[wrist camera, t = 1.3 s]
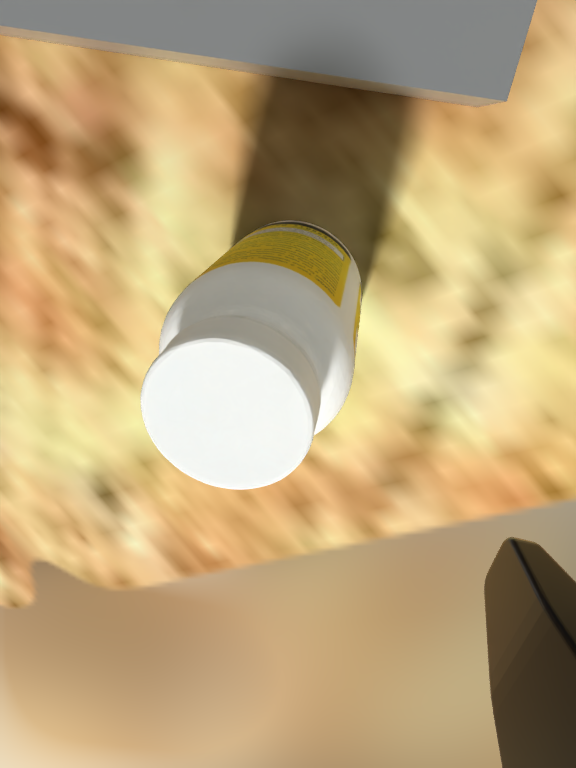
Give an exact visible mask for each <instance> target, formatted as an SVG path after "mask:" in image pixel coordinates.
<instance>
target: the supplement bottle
mask: <svg viewBox="0 0 576 768" xmlns="http://www.w3.org/2000/svg"><path fill="white" fill-rule="evenodd" d="M361 302H362V286H361V279H360V274H359V270H358V268H357V265H356V263H355V260H354V259H353V257H352V255H351V254H350V252H349V251H348V249H347V248H346V247H345V245H344V244H343V243H342V242H341V241H340V240H339V239H338V238H336V237H335V236H334V235H333V234H331V233H330V232H328V231H327V230H325V229H323V228H321V227H319V226H317V225H314V224H311V223H307V222H302V221H294V220H287V221H278V222H274V223H270V224H267V225H264V226H262V227H260V228H258V229H256V230H254V231H253V232H251V233H250V234H248V235H247V236H245V237H244V238H243V239H241V240H240V241H239V242H238V243H236V244H235V245H234V246H233V247H232V248H231V249H230V250H229V251H227V252H226V253H225V254H224V255H223V256H222V257H220V258H219V259H218V260H217V261H216V262H215V263H214V264H213V265H211V266H210V267H209V268H208V269H207V270H206V271H204V272H203V273H202V274H201V275H200V276H199V277H197V278H196V279H195V280H194V281H193V282H192V283H190V284H189V285H188V286H187V287H186V288H185V289H184V291H183V292H182V293H181V294H180V295H179V296H178V297H177V299H176V300H175V302H174V303H173V305H172V306H171V308H170V310H169V312H168V314H167V316H166V318H165V321H164V324H163V327H162V330H161V335H160V343H159V356H158V357H157V358H156V359H155V360H154V362H153V363H152V365H151V366H150V368H149V370H148V372H147V374H146V376H145V379H144V381H143V385H142V390H141V411H142V416H143V420H144V423H145V426H146V429H147V431H148V433H149V435H150V437H151V439H152V441H153V442H154V444H155V445H156V447H157V448H158V450H159V451H160V452H161V453H162V454H163V455H164V457H165V458H167V459H168V460H169V461H170V462H171V463H172V464H173V465H174V466H175V467H177V468H178V469H180V470H181V471H182V472H184V473H185V474H187V475H189V476H191V477H193V478H194V479H197V480H199V481H201V482H203V483H206V484H209V485H212V486H216V487H221V488H227V489H252V488H258V487H262V486H266V485H269V484H272V483H275V482H277V481H279V480H281V479H282V478H284V477H286V476H287V475H288V474H290V473H291V472H292V471H293V470H294V469H295V468H296V467H297V466H298V465H299V464H300V463H301V461H302V460H303V459H304V457H305V456H306V454H307V452H308V450H309V448H310V446H311V443H312V440H313V436H314V435H315V434H317V433H318V432H320V431H321V430H322V429H323V428H325V427H326V426H327V425H328V424H329V423H330V422H331V421H332V420H333V419H334V418H335V416H336V415H337V414H338V412H339V411H340V409H341V408H342V406H343V404H344V402H345V400H346V398H347V396H348V393H349V390H350V387H351V383H352V378H353V373H354V366H355V355H356V347H357V337H358V329H359V322H360V313H361Z"/></svg>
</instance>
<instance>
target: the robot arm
mask: <svg viewBox="0 0 576 768" xmlns="http://www.w3.org/2000/svg"><path fill="white" fill-rule="evenodd" d="M484 594H485V611H486V628H487V644H488V662H489V679H490V690H491V700H492V707H493V714H494V720H495V726H496V732H497V738H498V744H499V750H500V756H501V762H502V768H576V582H575V581H574V580H573V579H572V578H571V577H570V576H569V575H568V574H567V573H566V572H565V570H564V569H563V568H562V567H561V566H560V565H559V564H558V563H557V562H556V561H555V560H554V559H553V558H552V557H551V556H550V555H549V554H548V553H547V552H546V551H545V550H544V549H543V548H542V547H541V546H540V545H539V544H537V543H535V542H532V541H527V540H523V539H519V538H514V537H510V538H507V539H506V540H505V541H504V542H503V543H502V545H501V547H500V549H499V551H498V553H497V555H496V558H495V559H494V561H493V563H492V565H491V567H490V569H489V571H488V573H487V576H486V579H485V586H484Z"/></svg>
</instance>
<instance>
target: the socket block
mask: <svg viewBox="0 0 576 768" xmlns="http://www.w3.org/2000/svg"><path fill="white" fill-rule="evenodd" d="M536 2H537V0H0V34H1V35H5V36H10V37H17V38H24V39H30V40H37V41H44V42H50V43H57V44H63V45H70V46H77V47H83V48H90V49H97V50H103V51H110V52H116V53H123V54H130V55H136V56H143V57H149V58H156V59H163V60H169V61H176V62H183V63H189V64H196V65H202V66H209V67H216V68H222V69H229V70H235V71H242V72H249V73H255V74H262V75H269V76H275V77H282V78H288V79H295V80H302V81H308V82H315V83H322V84H328V85H335V86H341V87H348V88H355V89H361V90H368V91H374V92H381V93H388V94H394V95H401V96H408V97H414V98H421V99H427V100H434V101H441V102H447V103H454V104H461V105H467V106H474V107H481V106H486V105H491V104H496V103H501V102H506V101H507V98H508V95H509V92H510V88H511V85H512V82H513V78H514V75H515V72H516V68H517V65H518V62H519V59H520V55H521V52H522V49H523V45H524V42H525V39H526V35H527V32H528V29H529V25H530V22H531V19H532V15H533V12H534V9H535V6H536Z"/></svg>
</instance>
